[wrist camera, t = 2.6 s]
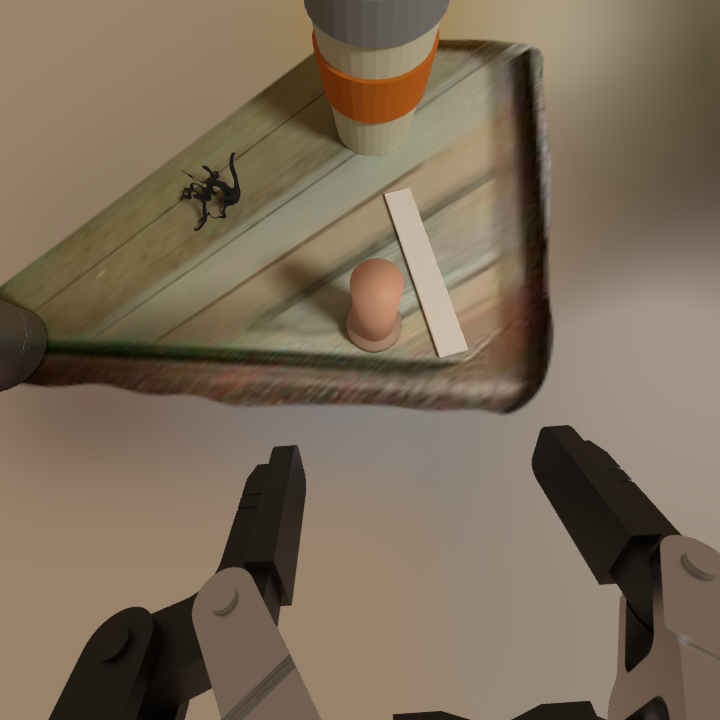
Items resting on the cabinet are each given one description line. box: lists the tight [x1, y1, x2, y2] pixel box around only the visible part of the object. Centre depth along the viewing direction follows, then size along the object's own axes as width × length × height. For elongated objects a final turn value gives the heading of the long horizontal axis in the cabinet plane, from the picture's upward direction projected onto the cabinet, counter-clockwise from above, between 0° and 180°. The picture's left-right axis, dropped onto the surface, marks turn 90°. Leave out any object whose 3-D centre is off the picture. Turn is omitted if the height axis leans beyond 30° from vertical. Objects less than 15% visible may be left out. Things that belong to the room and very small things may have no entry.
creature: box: [181, 152, 240, 231], centre depth 35 cm, size 8×5×8 cm
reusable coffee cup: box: [304, 0, 449, 156], centre depth 32 cm, size 13×13×15 cm
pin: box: [346, 258, 404, 353], centre depth 29 cm, size 6×6×10 cm
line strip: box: [384, 188, 468, 358], centre depth 35 cm, size 3×20×1 cm, turn 15°
